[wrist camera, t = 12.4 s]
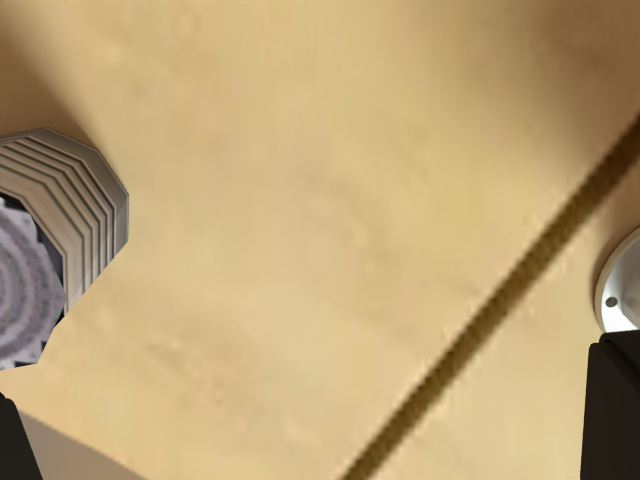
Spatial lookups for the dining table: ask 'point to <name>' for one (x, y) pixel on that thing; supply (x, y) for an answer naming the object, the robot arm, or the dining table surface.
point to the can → (52, 234)
